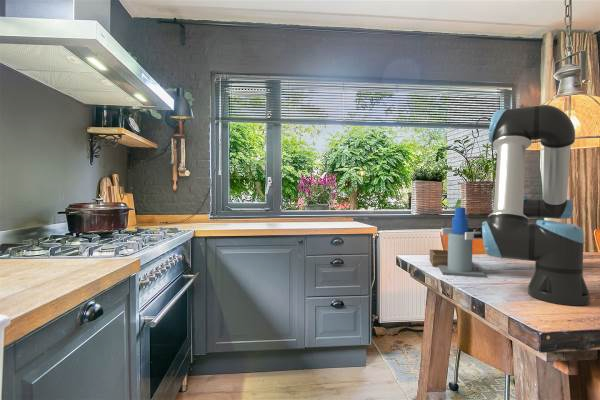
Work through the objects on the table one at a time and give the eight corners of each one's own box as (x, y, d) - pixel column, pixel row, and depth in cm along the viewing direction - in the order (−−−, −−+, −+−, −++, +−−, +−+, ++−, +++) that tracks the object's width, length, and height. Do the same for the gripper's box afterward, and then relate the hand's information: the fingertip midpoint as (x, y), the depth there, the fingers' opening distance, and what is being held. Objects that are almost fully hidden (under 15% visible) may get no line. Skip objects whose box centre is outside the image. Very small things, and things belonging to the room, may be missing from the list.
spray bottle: (443, 269, 139) (444, 207, 138) (454, 266, 145) (454, 206, 144) (465, 273, 132) (466, 208, 132) (475, 269, 138) (477, 207, 137)
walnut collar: (469, 268, 144) (470, 256, 144) (432, 266, 148) (433, 255, 148) (463, 261, 158) (463, 251, 158) (429, 260, 162) (429, 249, 162)
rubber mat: (485, 277, 130) (485, 274, 130) (442, 274, 134) (442, 272, 134) (477, 269, 143) (477, 267, 143) (438, 267, 147) (438, 265, 147)
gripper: (523, 246, 131) (476, 248, 125) (474, 237, 155) (433, 238, 149) (524, 226, 130) (477, 227, 125) (474, 220, 155) (433, 221, 149)
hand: (453, 233), depth 137 cm, fingers open, 13 cm apart
